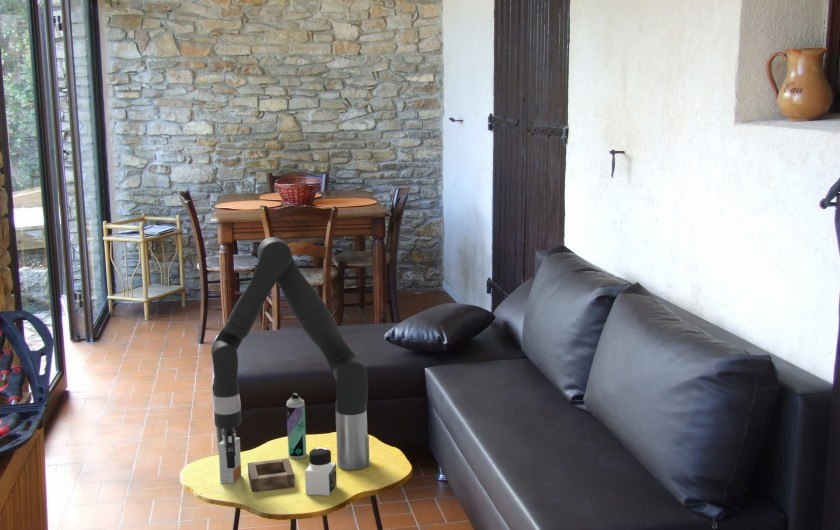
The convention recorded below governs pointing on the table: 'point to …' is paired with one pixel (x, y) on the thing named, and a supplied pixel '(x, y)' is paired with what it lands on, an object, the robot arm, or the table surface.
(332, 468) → the medicine bottle
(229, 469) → the skincare box
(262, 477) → the walnut well block
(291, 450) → the spray can
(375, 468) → the table surface
